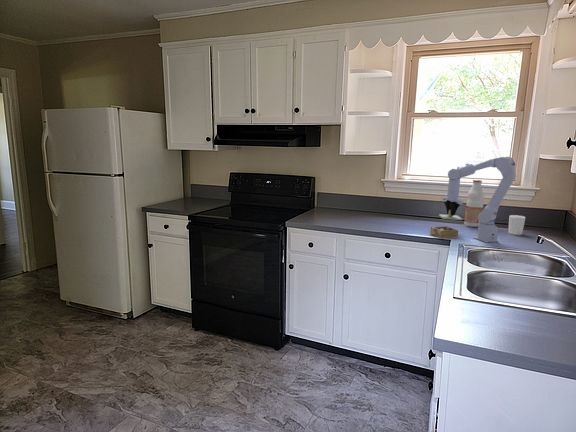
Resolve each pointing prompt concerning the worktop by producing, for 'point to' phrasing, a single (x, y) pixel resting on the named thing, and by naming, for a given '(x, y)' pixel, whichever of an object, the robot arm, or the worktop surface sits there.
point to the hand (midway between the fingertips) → (450, 214)
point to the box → (444, 232)
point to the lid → (450, 216)
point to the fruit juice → (474, 204)
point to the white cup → (516, 224)
